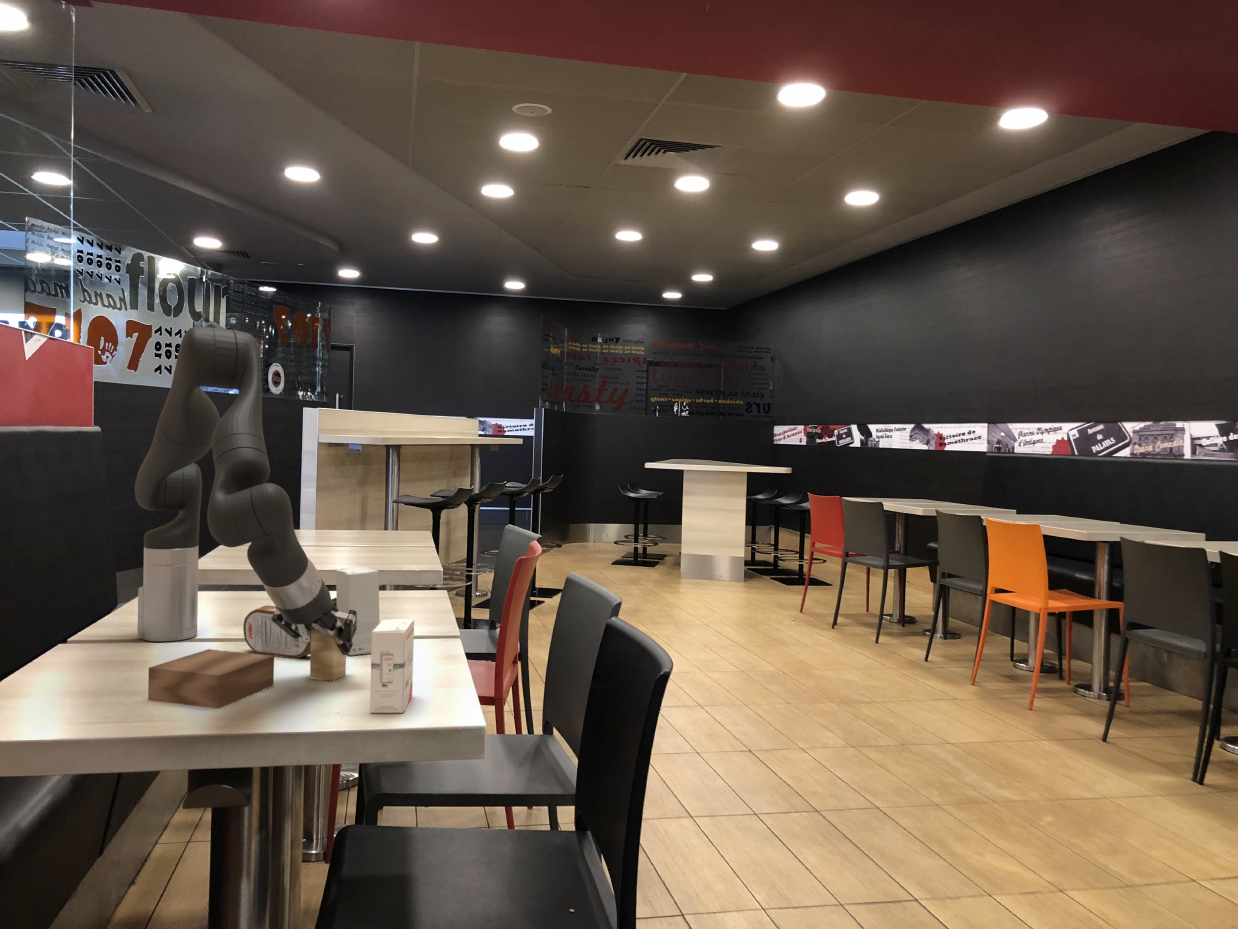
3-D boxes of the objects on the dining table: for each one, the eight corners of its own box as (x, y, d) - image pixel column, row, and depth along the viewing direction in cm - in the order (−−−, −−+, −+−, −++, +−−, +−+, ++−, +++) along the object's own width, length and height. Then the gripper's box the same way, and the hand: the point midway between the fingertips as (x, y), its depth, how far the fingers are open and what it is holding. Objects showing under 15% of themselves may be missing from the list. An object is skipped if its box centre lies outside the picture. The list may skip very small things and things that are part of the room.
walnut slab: (148, 702, 123) (148, 667, 123) (207, 680, 135) (208, 649, 135) (218, 710, 120) (219, 675, 120) (273, 688, 132) (274, 656, 132)
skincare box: (380, 653, 154) (382, 571, 153) (346, 657, 150) (348, 573, 150) (366, 643, 161) (367, 565, 160) (333, 647, 157) (335, 566, 157)
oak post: (309, 679, 136) (311, 623, 135) (322, 673, 139) (323, 618, 139) (333, 681, 135) (334, 624, 135) (345, 674, 139) (346, 619, 139)
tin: (321, 658, 150) (322, 610, 149) (309, 662, 147) (310, 613, 146) (252, 649, 154) (253, 603, 154) (239, 653, 151) (240, 605, 151)
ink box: (380, 696, 128) (382, 617, 128) (413, 696, 128) (415, 617, 128) (368, 714, 119) (370, 630, 119) (404, 714, 120) (406, 630, 119)
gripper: (349, 569, 128) (382, 632, 140) (262, 564, 131) (303, 627, 143) (330, 610, 123) (367, 672, 135) (241, 605, 125) (285, 666, 138)
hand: (334, 649), depth 139 cm, fingers closed on oak post, 4 cm apart
